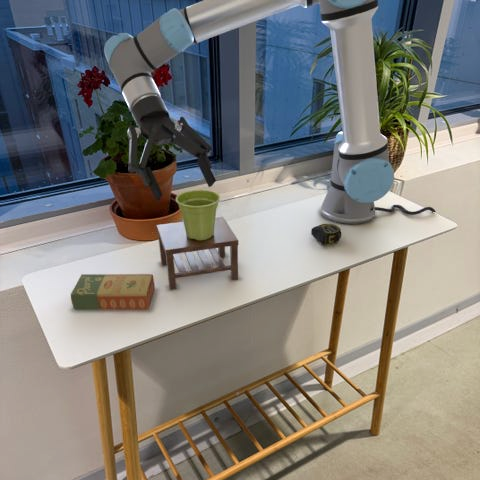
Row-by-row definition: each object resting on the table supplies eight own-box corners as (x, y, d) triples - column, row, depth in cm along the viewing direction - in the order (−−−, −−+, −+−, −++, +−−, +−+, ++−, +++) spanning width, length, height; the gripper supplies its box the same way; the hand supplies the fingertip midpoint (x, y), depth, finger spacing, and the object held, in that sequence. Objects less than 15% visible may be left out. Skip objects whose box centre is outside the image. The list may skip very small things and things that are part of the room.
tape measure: (309, 237, 129) (310, 224, 127) (332, 234, 131) (334, 221, 129) (320, 249, 124) (322, 235, 122) (344, 245, 126) (346, 231, 123)
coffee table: (224, 253, 122) (223, 216, 116) (238, 279, 112) (238, 240, 106) (160, 262, 118) (156, 224, 112) (169, 290, 108) (165, 250, 102)
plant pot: (173, 230, 110) (170, 193, 105) (212, 223, 113) (211, 187, 108) (186, 247, 103) (183, 209, 98) (227, 239, 106) (226, 202, 101)
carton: (149, 311, 102) (146, 293, 99) (73, 310, 102) (68, 293, 99) (155, 289, 108) (153, 272, 106) (84, 289, 109) (80, 272, 106)
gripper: (188, 107, 116) (226, 186, 115) (90, 123, 104) (131, 211, 103) (199, 86, 110) (239, 170, 109) (95, 101, 98) (139, 195, 97)
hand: (186, 190), depth 106 cm, fingers open, 13 cm apart
